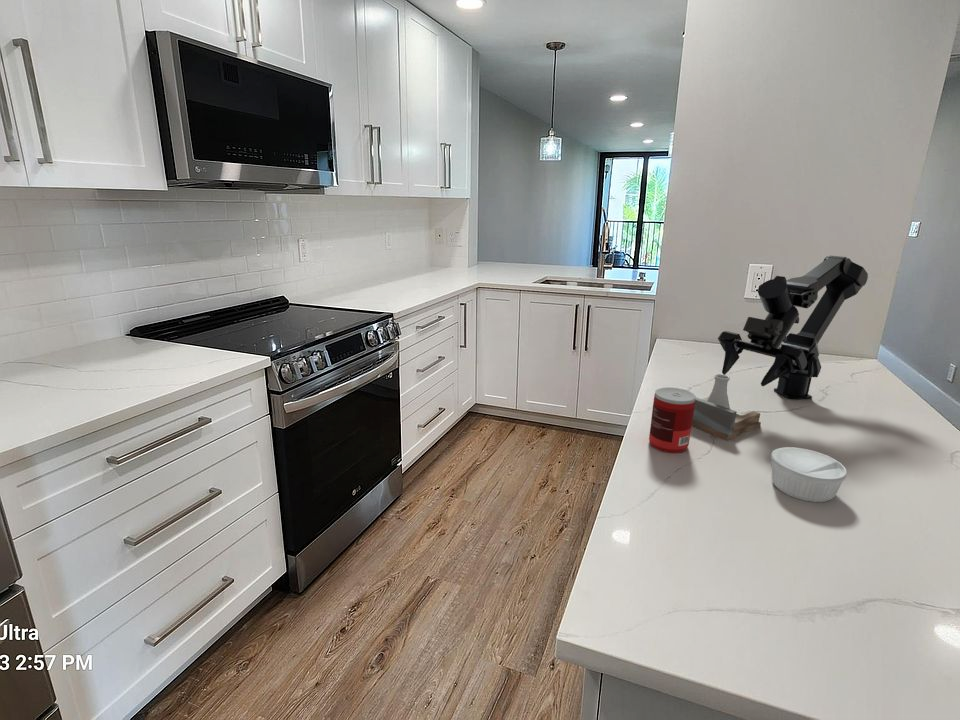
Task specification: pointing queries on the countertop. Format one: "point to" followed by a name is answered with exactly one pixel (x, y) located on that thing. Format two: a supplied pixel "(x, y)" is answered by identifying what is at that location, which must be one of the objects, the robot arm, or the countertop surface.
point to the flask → (720, 391)
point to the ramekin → (806, 474)
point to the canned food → (671, 419)
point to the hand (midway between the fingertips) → (741, 379)
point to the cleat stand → (722, 420)
